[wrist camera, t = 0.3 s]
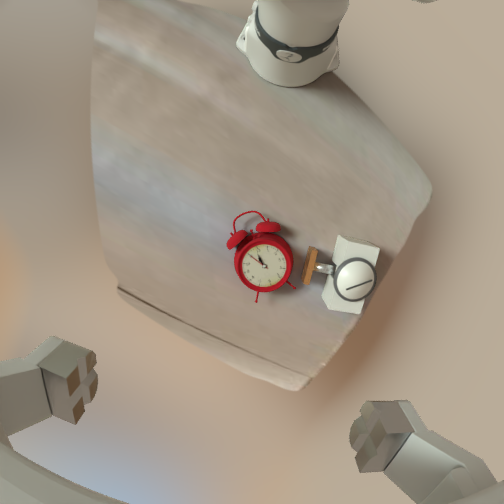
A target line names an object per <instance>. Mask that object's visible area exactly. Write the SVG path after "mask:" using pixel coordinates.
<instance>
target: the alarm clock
mask: <svg viewBox="0 0 504 504" xmlns="http://www.w3.org/2000/svg"><path fill="white" fill-rule="evenodd" d="M251 212H255V213H258V214H259V215H260V216H261V217H262V218H263V220H264V221H265V222H261V223H259V224H257V226H256V231H258V233H254V234H253V232H252V231H253V230H250V232H251V233H252V235H250V236H248V237H246V235H247V234H248V233H247V232H246V231H245V230H240V231H238V232H236V230H235V221H236V219H237V218H239V217H240V216H242V215H244V214H247V213H251ZM233 228H234V235H233V234H232V232H231V233H230V234H231V235H232V237H231V238H230V239H229V240H228V242H227V247H228V249H229V250H231V249H232V248H233V247H235V246H236V245H237V244H238V243H239V242H240V241H242V240H243V239H244V238H245V237H246V238H245V239H244V240H243V241H242V242H241V243H240V245H239V246H238V248H237V250H236V253H235V257H234V265H235V270H236V272H237V274H238V276H239V278H240V279H241V281H242V282H243V283H244V284H245V285H246V286H247V287H248V288H250V289H252V290H254V291H257V297H256V301H255V302H256V303H257V302H258V301H257V299H258V295H259V292H270V291H274V290H276V289H278V288H279V287H281V286H282V285H283V284H284V283H285V282H287V283H288V284H289V285H291V283H290V282H288V281H287V279H288V278H289V276H290V273H291V270H292V267H293V255H292V251H291V249H290V247H289V245H288V244H287V243H286V241H285V240H284V239H282V238H281V237H280V236H278V235H276V234H273V233H269V232H278V231H281V227H280V225H279V224H278V223H276V222H269V218H268V219H267V221H266V220H265V219H264V217H263V216H262V215H261V214H260V213H259V212H257V211H248V212H245V213H242V214H240V215H239V216H237V217H236V218H235V220H234V222H233ZM291 286H292V287H293V289H296V287H294V286H293V285H291Z"/></svg>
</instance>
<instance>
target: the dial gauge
mask: <svg viewBox="0 0 504 504" xmlns="http://www.w3.org/2000/svg"><path fill="white" fill-rule="evenodd" d="M379 250H380V248H378V247H376V246H375V245H373V244H371V243H369V242H368V241H363V240H359V239H355V238H351V237H346V236H342V235H338V237H337V241H336V245H335V249H334V253H333V257H332V261H333V262H334V263H335V264H336V265H337V267H336V270H335V274H334V275H332V274H328V276H327V279H326V283H325V286H324V290H323V293H322V298H323V300H324V302H325V304H326V305H327V307H328V309H330V310H336V311H343V312H349V313H355V314H360V312H361V309H362V307H363V303H364V300H365V298H366V297H367V296H368V295H369V294H370V293H371V292H372V290H373V289H374V287H375V284H376V279H377V276H376V271H375V265H376V261H377V258H378V254H379Z"/></svg>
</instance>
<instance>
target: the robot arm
mask: <svg viewBox="0 0 504 504" xmlns="http://www.w3.org/2000/svg"><path fill="white" fill-rule="evenodd" d="M413 1H417V2H421V3H430V2H434V1H437V0H413ZM348 5H349V0H258V1H255V2H254V4H253V7H252V11H254V12H253V13H252V15H250V16H249V18H248V22H247V24H246V26H245V27H244V29H243V31H242V33H241V34H240V36H239V38H238V40H237V43H236V46H237V48H238V49H239V50H240V51H241V52H242V53H243V54H245V55H246V56H247V58H248V59H249V61H250V63H251V65H252V67H253V69H254V70H255V71H256V72H257V73H258V74H259V75H260V76H261V77H262V78H264V79H265V80H267V81H269V82H271V83H273V84H276V85H280V86H286V87H297V86H303V85H306V84H309V83H311V82H313V81H314V80H316V79H317V78H318V77H319V76H321V75H322V74H323V73H325V72H330V71H333V70H336V69H337V68H338V66H339V52H338V41H337V32H338V29H339V23H340V21H341V20H342V18H343V16H344V14H345V13H346V11H347V9H348ZM244 38H245V40H244ZM96 363H97V362H96V354H95V353H94V352H93V351H91V350H89V349H86V348H83V347H81V346H78V345H76V344H73V343H71V342H68V341H65V340H63V339H60V338H58V337H55V336H50V337H49V338H48V339H46V340H45V341H44V342H43V343H42V344H41V345H39V346H38V347H37V348H36V349H35V350H34V351H32V352H31V353H30V354H29V355H28V356H27V357H26V358H24V359H21V358H16V359H11V360H6V361H1V362H0V504H129V503H126V502H123V501H120V500H117V499H114V498H111V497H108V496H105V495H103V494H100V493H98V492H95V491H92V490H90V489H87V488H86V487H83V486H81V485H78V484H76V483H74V482H72V481H70V480H67V479H65V478H63V477H61V476H59V475H57V474H55V473H53V472H51V471H49V470H47V469H46V468H44V467H42V466H40V465H38V464H36V463H35V462H33V461H31V460H29V459H28V458H26V457H24V456H22V455H21V454H19V453H18V452H16V451H14V449H13V447H12V445H11V443H10V441H9V439H8V437H7V436H9V435H12V434H14V433H16V432H18V431H21V430H23V429H25V428H27V427H30V426H32V425H34V424H36V423H38V422H41V421H43V420H45V419H47V418H49V417H51V416H52V415H54V416H56V417H58V418H60V419H63V420H65V421H67V422H70V423H72V424H75V425H76V424H77V422H78V421H79V419H80V418H81V416H82V415H83V413H84V412H85V409H84V405H85V404H87V403H90V402H91V401H92V400H93V398H94V396H95V394H96V391H97V385H98V375H97V373H96V372H95V370H94V369H93V367H94V366H95V365H96ZM360 412H361V416H360V417H359V418H357V419H356V420H355V421H354V423H353V424H352V426H351V429H350V435H349V439H350V444H351V447H352V448H353V449H354V450H355V451H356V452H358V453H357V455H356V457H355V459H356V463H357V466H358V469H359V472H360V473H366V472H381V471H384V472H383V473H384V474H385V475H386V476H387V477H388V478H389V479H390V480H392V481H393V482H394V483H395V484H396V485H397V486H398V487H399V488H400V489H401V490H402V491H403V492H404V493H406V494H407V495H408V496H409V497H410V498H411V499H412V500H413V501H414V502H415V503H416V504H504V480H503V481H501V482H499V483H497V481H496V479H495V478H494V476H493V475H492V473H491V472H490V470H489V469H488V467H487V466H486V464H485V463H484V461H483V460H482V459H481V458H479V457H477V456H475V455H473V454H472V453H470V452H468V451H466V450H465V449H463V448H461V447H459V446H458V445H456V444H454V443H453V442H451V441H449V440H447V439H446V438H444V437H442V436H441V435H439V434H437V433H436V432H434V431H432V430H431V431H429V430H428V429H427V427H426V426H425V424H424V422H423V421H422V419H421V418H420V416H419V415H418V413H417V412H416V410H415V408H414V407H413V405H412V404H411V402H410V401H408V400H395V401H366V402H365V403H364V404H363V406H362V407H361V409H360Z"/></svg>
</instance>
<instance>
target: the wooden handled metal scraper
mask: <svg viewBox="0 0 504 504" xmlns="http://www.w3.org/2000/svg"><path fill="white" fill-rule="evenodd" d="M317 253H318V251H317V250H316V249H315V247H310V246H309V248H308V252H307V256H306V260H305V264H304V268H303V272H302V276H301V280H302V282H303V284H307V285H309V283H310V280H311V276H312V272H313V271H316V272H321V273H326V274H332V275H334V274H335V270H336V267H337V266H333V265H328V264H323V263H319V262H315V260H316V257H317Z"/></svg>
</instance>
